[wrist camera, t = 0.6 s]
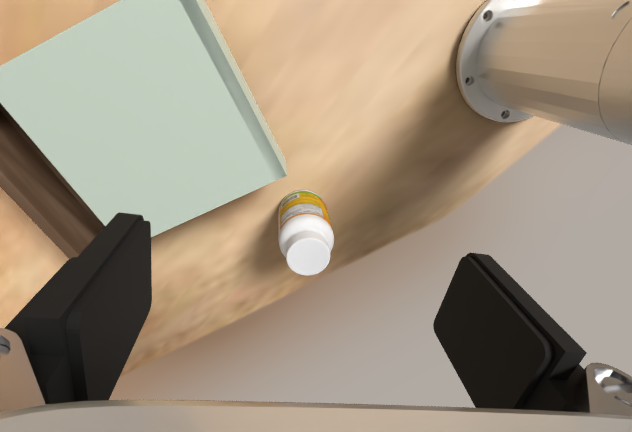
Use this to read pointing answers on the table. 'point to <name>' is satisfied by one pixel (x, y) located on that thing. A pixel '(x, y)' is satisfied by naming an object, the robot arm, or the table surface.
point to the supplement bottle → (305, 232)
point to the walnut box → (43, 190)
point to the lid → (144, 112)
